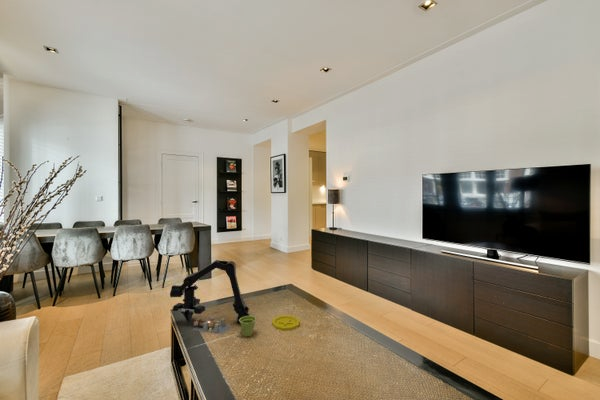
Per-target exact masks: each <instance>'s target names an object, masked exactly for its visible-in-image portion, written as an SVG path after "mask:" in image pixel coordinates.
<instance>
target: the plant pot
mask: <svg viewBox="0 0 600 400" xmlns="http://www.w3.org/2000/svg"><path fill="white" fill-rule="evenodd" d="M239 321H240V324H241V325H240V324H239V325H240V327H241V336H243V337H245V338H247V337H252V336H253V335H254V327H255V323H256V321H257V318H256V317H255V316H253V315H249V316H244V317H242V318H240V320H239Z"/></svg>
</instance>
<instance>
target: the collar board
mask: <svg viewBox="0 0 600 400" xmlns="http://www.w3.org/2000/svg"><path fill="white" fill-rule="evenodd" d="M215 318H216V317H214V316H211V317H210V318H209V320H210V321H216V320H215ZM230 328H232V326H231V325H226V318H223V317H221V318H220V321H219V320H217V322H216V323H215V325H214V328H213V329H212V328H208V322H204V324H203V327H199V326H194V327H193V328H192V331H196V332H204V333H209V334H210V333H211V334H217V335H225V334H226V333H227V331H228V330H230Z"/></svg>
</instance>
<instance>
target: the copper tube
mask: <svg viewBox="0 0 600 400" xmlns="http://www.w3.org/2000/svg"><path fill="white" fill-rule="evenodd" d="M204 322H208V328H212V329H213V328H214V325H215V324H216V320H214V321H210V319H209V320H208V319H201V318H195V319H194V320H193V326H194V327H196V326H199V327H203V324H204Z"/></svg>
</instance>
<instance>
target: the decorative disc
mask: <svg viewBox="0 0 600 400" xmlns="http://www.w3.org/2000/svg"><path fill="white" fill-rule="evenodd" d="M300 321H301V320H300V319H299V318H297V317H296V316H294V315H288V314H285V315H277V317H276V316H275V317H274V318H273V319H272V321H271V326H272V325H273V326H274V327H275V328H276V329H275V328H274V327H273V326H272V327H273V328H274V329H275V330H278V329H279V331H283V332H286V331H288V330H289V331H294V330H296V329H297V328H296V327H298V326H299V327H300V323H299V322H300ZM299 327H298V328H299ZM295 328H296V329H295ZM293 329H294V330H293Z"/></svg>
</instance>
